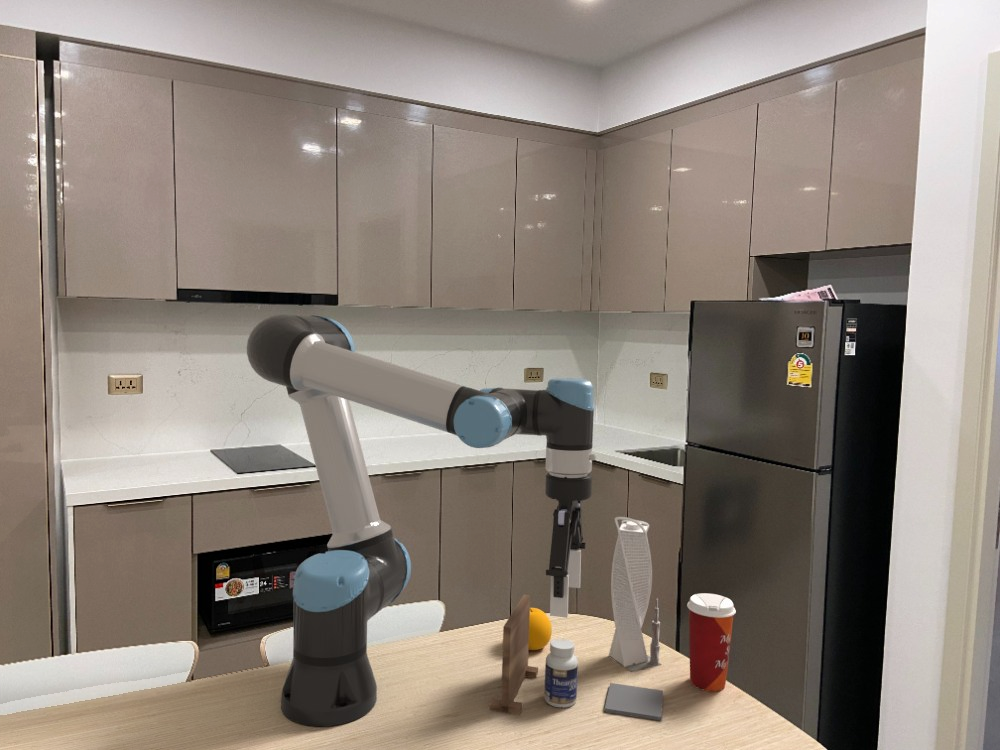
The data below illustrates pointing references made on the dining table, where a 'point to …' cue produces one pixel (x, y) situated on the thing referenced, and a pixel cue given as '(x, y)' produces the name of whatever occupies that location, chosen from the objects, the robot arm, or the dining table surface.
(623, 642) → the skyscraper
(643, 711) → the coaster
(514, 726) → the dining table surface
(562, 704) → the pill bottle
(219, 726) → the dining table surface
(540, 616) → the orange
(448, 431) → the robot arm
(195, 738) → the dining table surface
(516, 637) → the screen
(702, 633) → the coffee cup
